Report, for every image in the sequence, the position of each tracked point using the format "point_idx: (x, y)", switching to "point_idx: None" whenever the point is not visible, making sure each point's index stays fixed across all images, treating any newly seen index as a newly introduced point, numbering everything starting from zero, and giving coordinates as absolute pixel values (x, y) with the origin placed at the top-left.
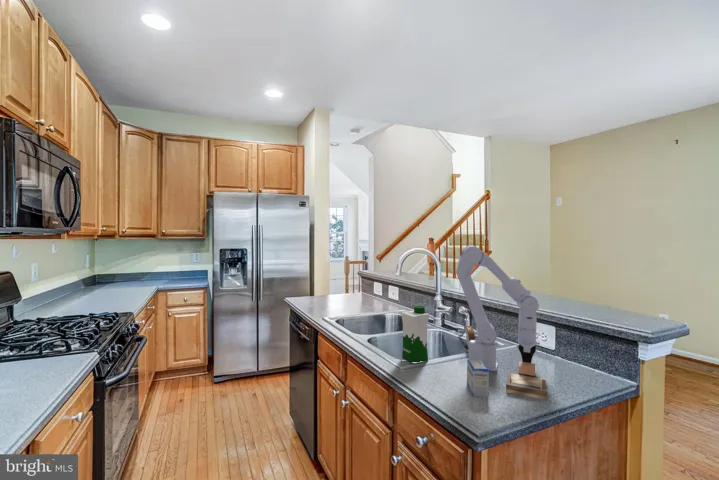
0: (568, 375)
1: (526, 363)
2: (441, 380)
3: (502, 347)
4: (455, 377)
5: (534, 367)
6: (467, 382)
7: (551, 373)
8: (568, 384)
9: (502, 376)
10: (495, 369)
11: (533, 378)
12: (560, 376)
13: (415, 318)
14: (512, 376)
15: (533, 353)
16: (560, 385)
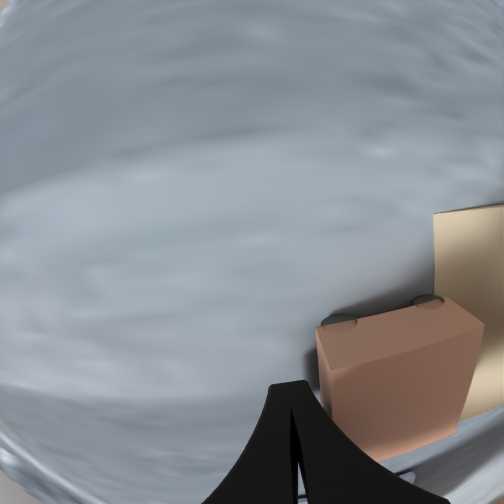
0: (205, 29)
1: (369, 426)
2: (497, 484)
3: (30, 462)
4: (480, 486)
5: (460, 339)
6: None
7: (249, 167)
8: (425, 38)
9: (461, 429)
10: (405, 480)
11: (474, 295)
12: (282, 81)
13: None
14: (482, 398)
15: (414, 489)
16: (477, 97)
